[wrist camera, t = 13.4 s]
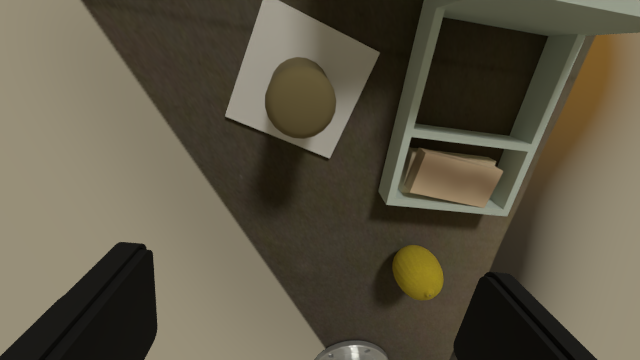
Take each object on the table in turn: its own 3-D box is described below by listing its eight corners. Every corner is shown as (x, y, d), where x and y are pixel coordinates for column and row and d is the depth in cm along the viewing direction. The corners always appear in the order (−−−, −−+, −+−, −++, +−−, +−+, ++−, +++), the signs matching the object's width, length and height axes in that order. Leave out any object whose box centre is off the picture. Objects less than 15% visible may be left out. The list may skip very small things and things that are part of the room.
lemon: (379, 243, 39) (398, 287, 32) (419, 227, 39) (448, 268, 31) (392, 273, 41) (413, 321, 34) (430, 258, 41) (460, 303, 33)
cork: (264, 111, 31) (249, 139, 21) (275, 49, 29) (264, 48, 19) (321, 124, 32) (332, 157, 22) (335, 65, 30) (356, 72, 20)
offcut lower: (471, 192, 38) (481, 200, 36) (395, 184, 37) (401, 192, 35) (485, 155, 36) (496, 161, 34) (405, 145, 35) (412, 151, 33)
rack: (489, 202, 38) (568, 263, 27) (378, 191, 36) (414, 252, 25) (560, 24, 30) (712, 8, 19) (424, -2, 28) (504, -36, 17)
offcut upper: (474, 199, 36) (484, 208, 34) (403, 184, 34) (409, 192, 32) (492, 164, 34) (503, 171, 32) (418, 147, 32) (425, 152, 31)
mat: (329, 157, 34) (329, 158, 34) (225, 115, 31) (224, 116, 31) (379, 52, 30) (380, 52, 30) (265, -6, 27) (265, -7, 27)
